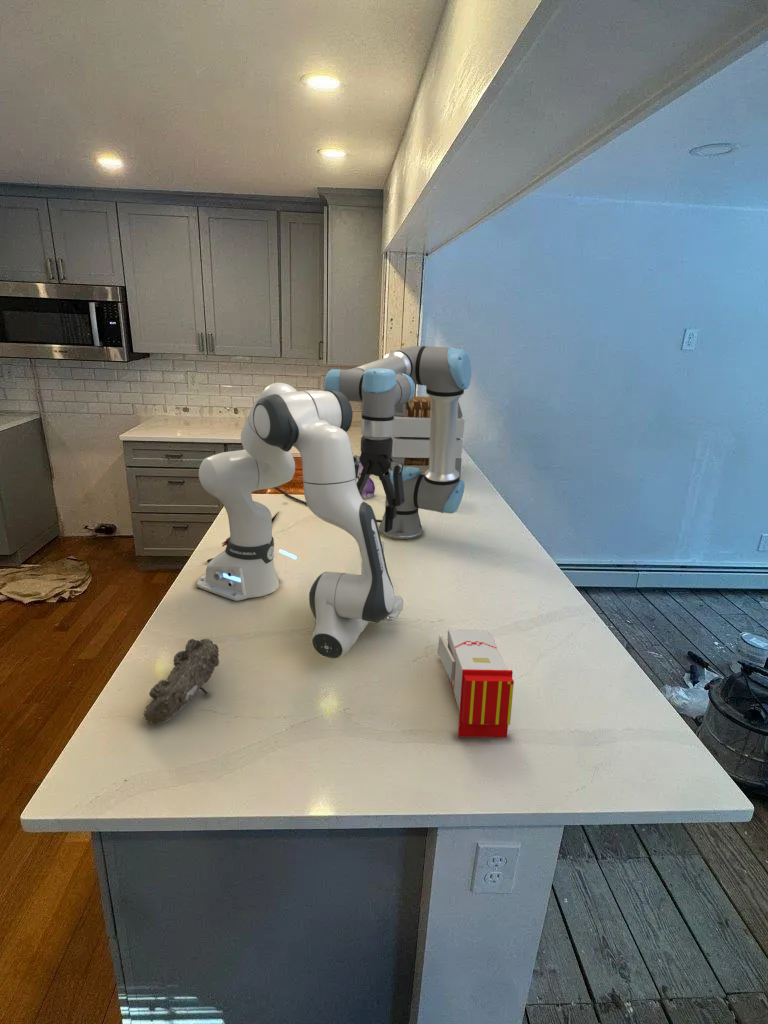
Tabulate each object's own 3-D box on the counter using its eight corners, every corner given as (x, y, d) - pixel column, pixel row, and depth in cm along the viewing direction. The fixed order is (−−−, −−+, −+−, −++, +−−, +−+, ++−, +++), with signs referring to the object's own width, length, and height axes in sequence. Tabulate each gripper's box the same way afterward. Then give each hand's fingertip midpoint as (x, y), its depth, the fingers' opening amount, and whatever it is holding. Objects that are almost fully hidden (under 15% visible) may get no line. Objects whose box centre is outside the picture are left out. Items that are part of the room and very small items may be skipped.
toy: (488, 613, 130) (523, 677, 101) (484, 667, 133) (517, 744, 104) (435, 612, 130) (455, 676, 101) (432, 666, 133) (451, 743, 103)
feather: (286, 506, 225) (288, 502, 225) (268, 529, 199) (271, 525, 198) (282, 503, 225) (284, 499, 225) (264, 526, 199) (267, 522, 198)
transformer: (382, 463, 289) (386, 382, 275) (445, 464, 293) (451, 384, 279) (390, 482, 257) (394, 392, 243) (460, 483, 261) (468, 394, 247)
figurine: (359, 500, 232) (360, 465, 227) (349, 493, 240) (350, 458, 235) (380, 498, 236) (381, 463, 231) (369, 490, 244) (370, 457, 239)
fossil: (172, 641, 124) (220, 609, 119) (203, 670, 127) (251, 640, 122) (121, 717, 104) (176, 683, 99) (159, 749, 107) (214, 718, 102)
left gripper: (395, 609, 131) (411, 583, 144) (314, 593, 137) (336, 569, 149) (393, 632, 133) (409, 605, 146) (314, 615, 139) (336, 591, 152)
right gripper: (423, 439, 132) (417, 530, 140) (347, 428, 141) (345, 514, 148) (409, 445, 126) (404, 540, 133) (331, 433, 134) (330, 522, 142)
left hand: (372, 587), depth 148 cm, fingers closed on jar, 5 cm apart
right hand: (373, 526), depth 141 cm, fingers open, 8 cm apart
